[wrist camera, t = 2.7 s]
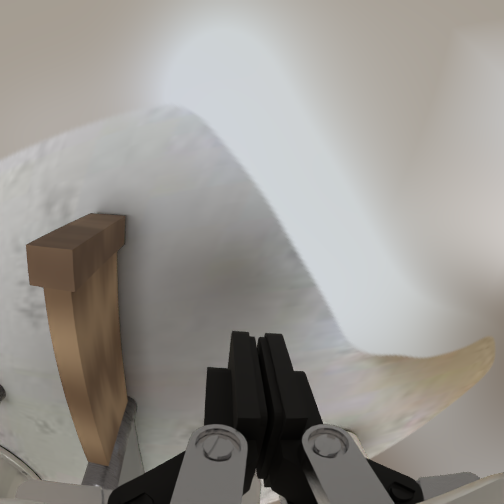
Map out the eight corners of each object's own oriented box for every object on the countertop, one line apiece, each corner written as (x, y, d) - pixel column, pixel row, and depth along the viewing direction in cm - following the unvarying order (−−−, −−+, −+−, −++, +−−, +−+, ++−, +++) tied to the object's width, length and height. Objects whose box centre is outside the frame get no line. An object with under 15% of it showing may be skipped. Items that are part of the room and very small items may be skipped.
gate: (133, 400, 22) (113, 473, 15) (106, 395, 22) (80, 465, 15) (125, 215, 18) (72, 249, 11) (90, 213, 18) (26, 244, 11)
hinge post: (138, 415, 24) (118, 502, 15) (112, 411, 23) (86, 494, 14) (135, 396, 23) (111, 486, 14) (109, 392, 23) (77, 478, 14)
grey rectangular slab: (144, 474, 26) (136, 532, 19) (131, 472, 26) (121, 529, 19) (133, 417, 24) (116, 487, 16) (118, 414, 24) (97, 483, 16)
